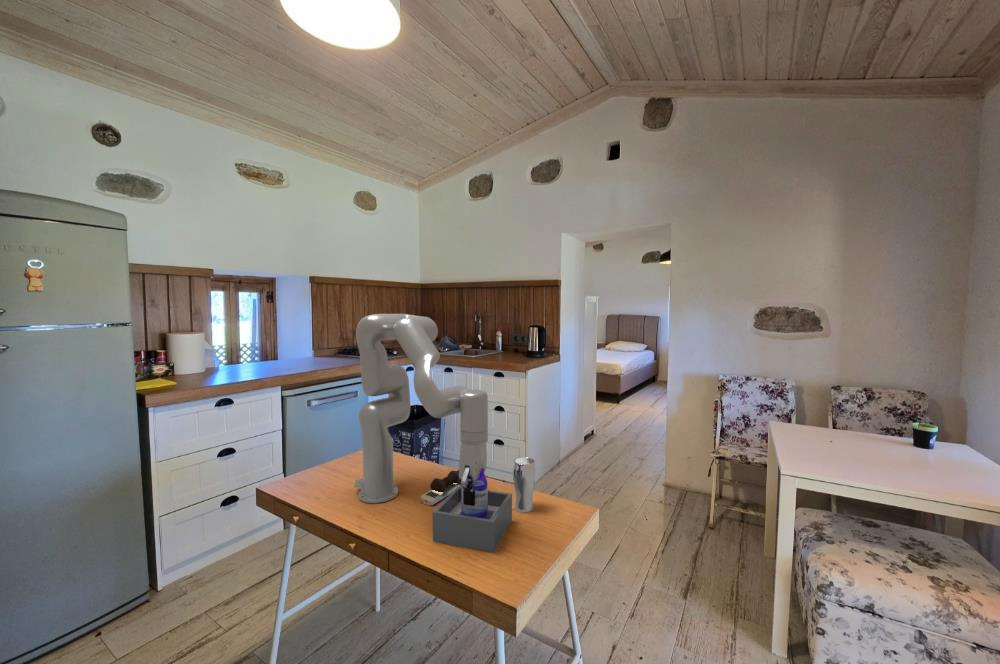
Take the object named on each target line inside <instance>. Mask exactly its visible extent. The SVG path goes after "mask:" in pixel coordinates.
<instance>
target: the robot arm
mask: <svg viewBox="0 0 1000 664" xmlns="http://www.w3.org/2000/svg"><path fill="white" fill-rule="evenodd" d="M438 329H439V328H438V326H437V323H436V322H435V321H434V320H433V319H431V318H430V317H428V316H423V315H422V316H420V315H414V314H407V313H376V314H375V313H374V314H369V315H366V316H363V317H362V318H360V320H359V322H358V323H357V325H356V330H355V339H356V344H357V347H358V351H359V357H360V358H359V359H360V360H359V361H360V363H359V364H360V377H361V387H362V390H363V393H364V394H365V395H366V396H368V397H379V396H384V395H388V397H384V398H379V399H375V400H372V401H368V402H366V403H365V404H363V406H361V407H360V409H359V411H358V412H359V413H358V418H359V419H358V420H359V425H360V429H361V435H362V467H363V469H362V473H363V474H362V475H363V477H362V478H356V480H355V483H354V485H353V486H354V488H359V489H360V491H359V492H358V499H359V500H360V501H361V502H363V503H367V504H379V503H380V504H381V503H384V502H385V503H386V502H388V501H390V500H394V498H396V497H397V496H398V494H399V487H398V486H396V485H395V484H394V442H393V437H392V435H391V433H389V430H388V428H389V427H392V426H396V425H399V424H402V423H404V422H406V421H407V420H408V419H409V417H410V414H411V395H410V379H409V376H408V372H407V370H405V368H404V367H403V366H402V365H399V364H396V363H395V364H389V362H388V352H387V350H386V347H385V346H384V345H383V344H382V343H381V341H392V340H396V341H397V342H398V344H399V345H400V348H401V349H402V350H403V352H404V354H405V355H406V357H407V358H408V361H410V363H411V365H412V366H413V368H414V374H413V387H414V392H415V395H416V396H417V398H418V400H419V402H420V403H421V405H422V406H423V408H424V410H425V411H426V412H427V413H428V415H430V416H431V417H433V418H434V419H435V418H436V419H442V418H446V417H448V416H452V415H455V414H460V415H459V419H460V425H459V426H460V429H459V430H460V432H459V433H460V437H459V439H460V443H461V444H460V451H459V464H458V465H459V466H458V470H459V479H461V480H460V481H461V482H460V485H461V484H462V487H463V504H464V505H470V506H474V505H475V491H474V485H475V481H476V480H477V479H478V478H479V474H480V471H481V469H482V468H484V475H485V476H486V474H485V472H486V469H487V464H488V462H487V456H488V453H487V452H488V451H487V443H488V441H489V439H488V438H489V432H488V430H489V429H488V428H489V425H488V424H489V422H488V418H489V417H488V414H489V410H488V409H489V407H488V406H489V398H488V394H487V392H486V391H484V390H482V389H471V388H468V387H466V386H462V385H455V386H451V387H446V388H442V389H439V388H438V386H437V385H436V383H435V382H434V380H433V378H432V375H431V369H432V368H433V367H435V365H436V364H437V363H438V362H439V360H440V357H441V354H440V352H439V350H438V348H437V347H436V345H435V344H434V341H435V340H436V339H437V337H438V335H439V333H438V332H439V330H438ZM469 477H473V479H468V478H469ZM468 481H470V482H472V483H471V486H470V484H468Z"/></svg>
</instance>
